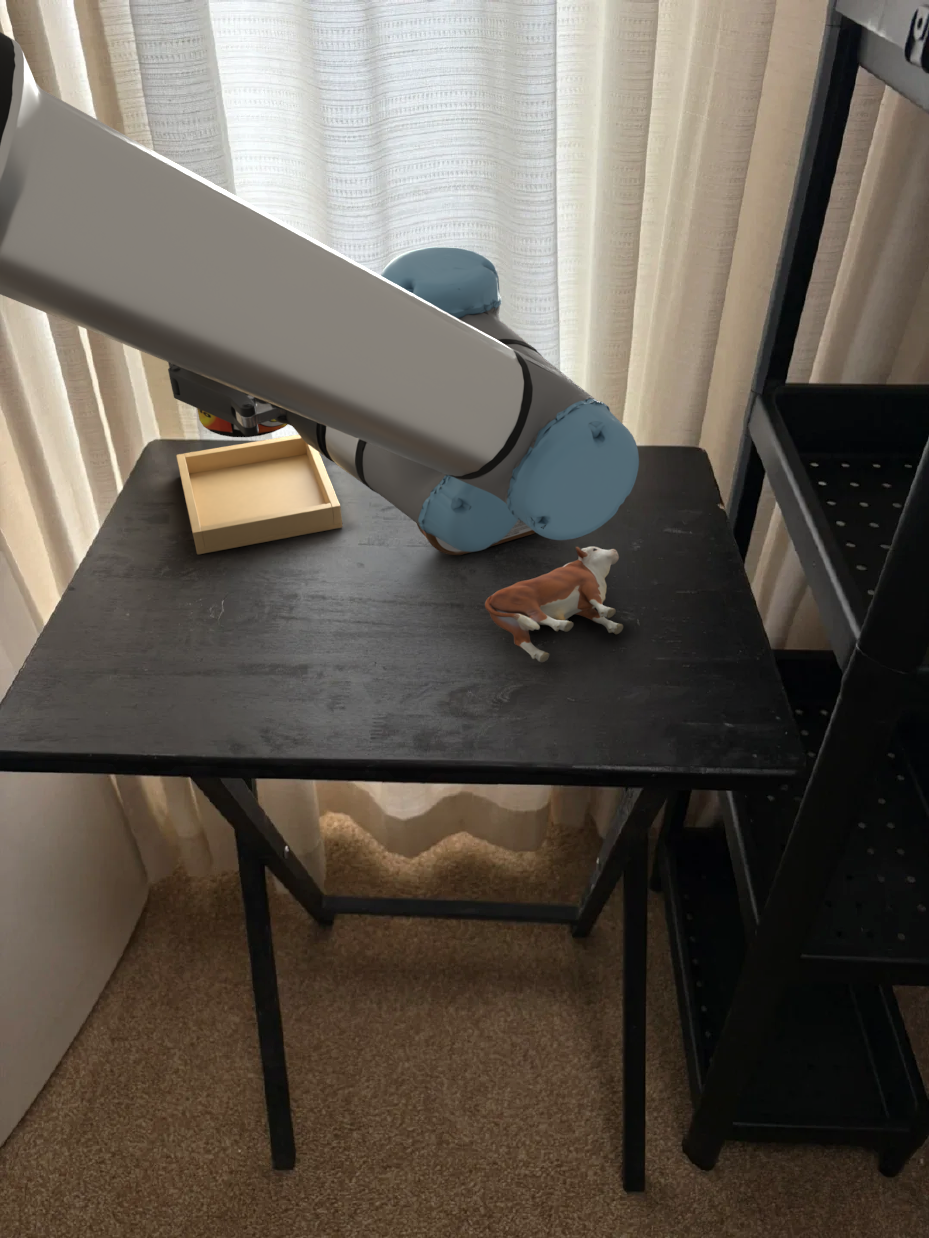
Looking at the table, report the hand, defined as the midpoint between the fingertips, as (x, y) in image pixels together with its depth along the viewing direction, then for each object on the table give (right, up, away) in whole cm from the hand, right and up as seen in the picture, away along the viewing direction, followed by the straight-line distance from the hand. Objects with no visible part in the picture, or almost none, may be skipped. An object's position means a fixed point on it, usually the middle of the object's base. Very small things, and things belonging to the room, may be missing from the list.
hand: (210, 321), depth 93 cm
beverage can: (+3, -8, +2) cm, 9 cm away
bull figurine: (+33, -27, -8) cm, 44 cm away
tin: (+25, -19, +5) cm, 32 cm away
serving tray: (+2, -15, +10) cm, 18 cm away
